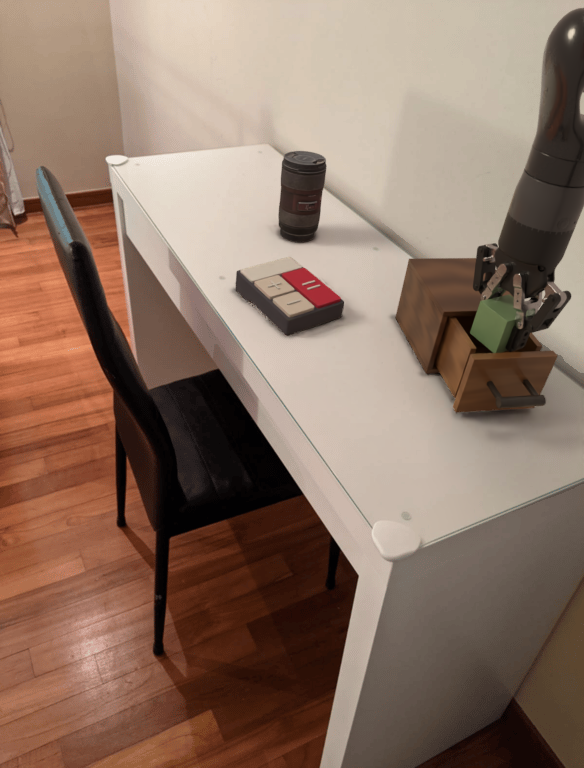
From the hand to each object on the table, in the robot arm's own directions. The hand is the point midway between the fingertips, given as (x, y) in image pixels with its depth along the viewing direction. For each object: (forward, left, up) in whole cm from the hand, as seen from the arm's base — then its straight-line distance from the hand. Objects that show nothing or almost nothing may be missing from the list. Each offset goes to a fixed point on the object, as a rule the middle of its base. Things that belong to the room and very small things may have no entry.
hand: (497, 336), depth 80 cm
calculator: (+33, 0, -9) cm, 34 cm away
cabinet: (+8, -8, -9) cm, 15 cm away
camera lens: (+46, -22, -9) cm, 52 cm away
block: (0, 0, 0) cm, 0 cm away
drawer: (0, 0, -8) cm, 8 cm away
